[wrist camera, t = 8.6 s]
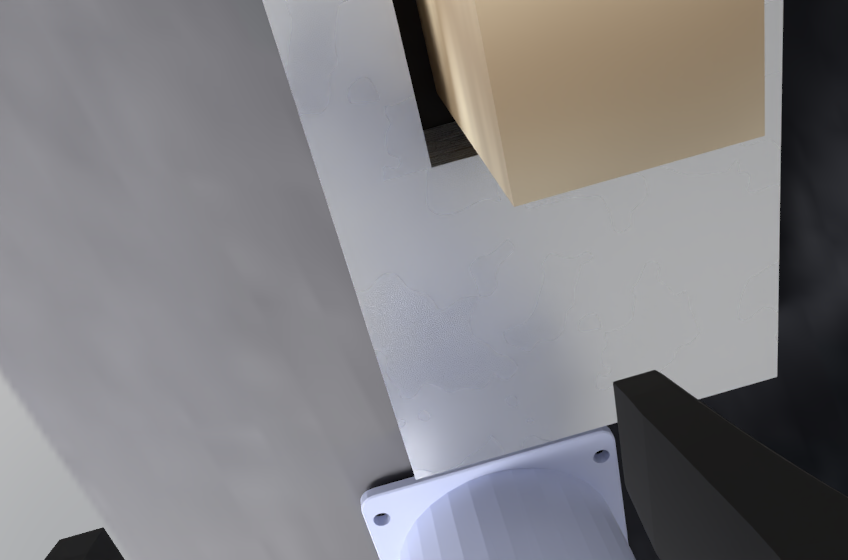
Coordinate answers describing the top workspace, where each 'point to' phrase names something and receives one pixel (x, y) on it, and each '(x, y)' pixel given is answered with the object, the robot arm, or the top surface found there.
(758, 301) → the board with rectangular recess
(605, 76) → the peg
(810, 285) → the top surface
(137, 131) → the top surface
